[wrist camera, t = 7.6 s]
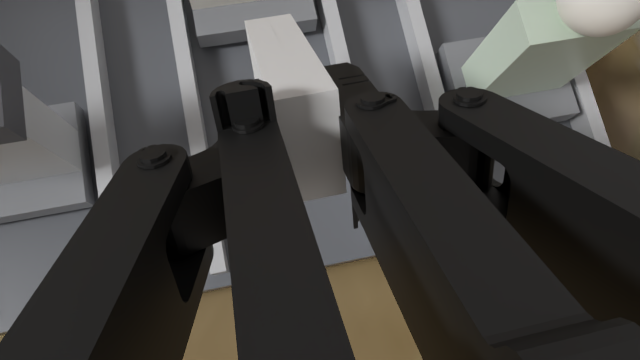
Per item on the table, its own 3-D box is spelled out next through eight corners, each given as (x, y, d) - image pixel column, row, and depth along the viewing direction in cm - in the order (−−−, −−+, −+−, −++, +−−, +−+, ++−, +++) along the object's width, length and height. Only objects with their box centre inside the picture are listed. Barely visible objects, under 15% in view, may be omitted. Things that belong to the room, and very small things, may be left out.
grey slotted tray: (583, 213, 24) (629, 201, 21) (-25, 339, 20) (-80, 347, 17) (481, -111, 27) (507, -163, 24) (-51, -47, 24) (-100, -98, 21)
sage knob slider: (566, 120, 22) (738, 17, 14) (458, 139, 21) (571, 44, 13) (540, 37, 23) (688, -107, 15) (435, 54, 22) (528, -87, 14)
